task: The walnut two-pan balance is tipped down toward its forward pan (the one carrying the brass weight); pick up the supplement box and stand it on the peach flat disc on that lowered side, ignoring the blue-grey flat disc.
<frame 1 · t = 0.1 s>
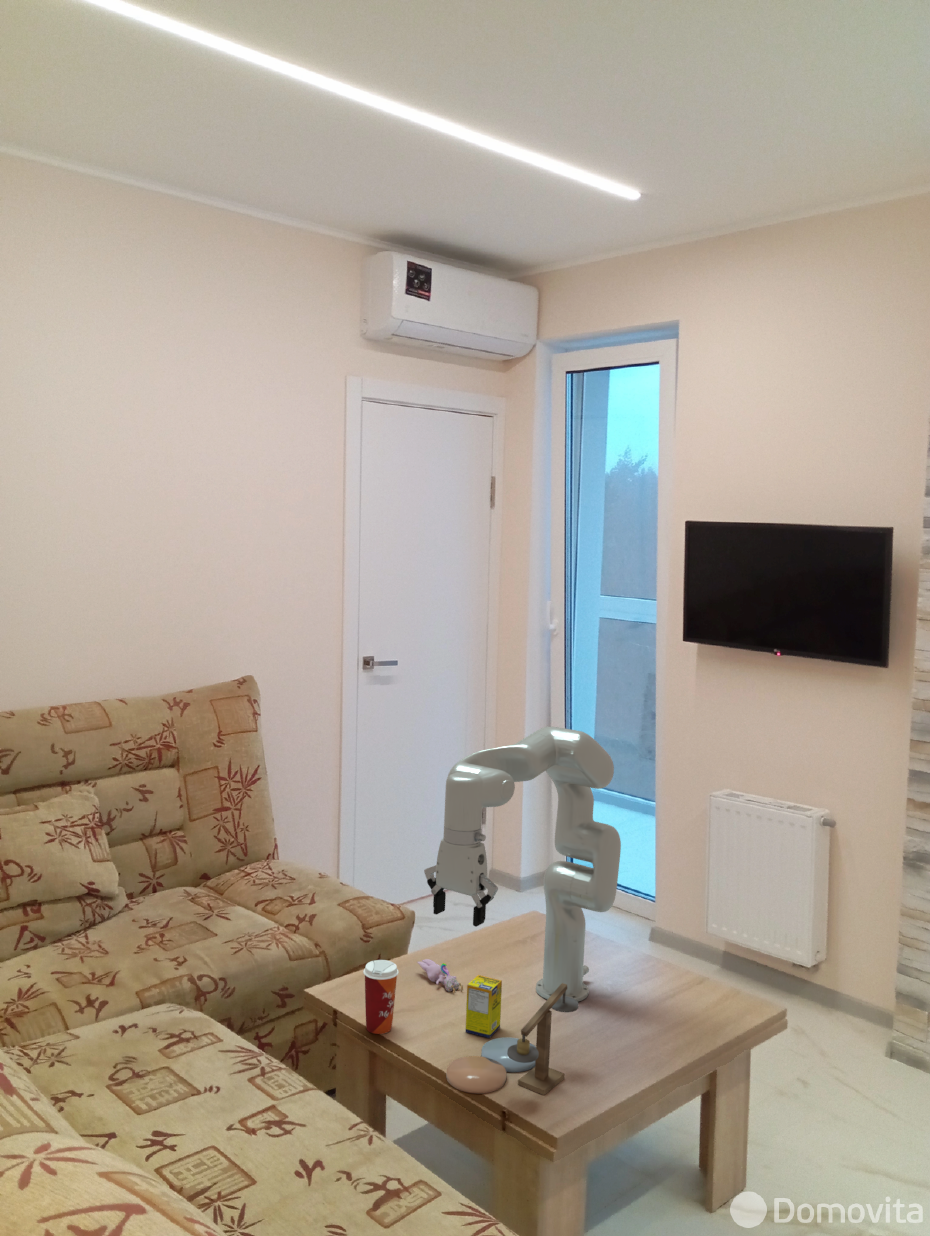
hand: (458, 918, 202), 31 cm above the table, fingers open, 9 cm apart
supplement box: (482, 1031, 220), on the table
peach flat disc: (476, 1077, 201), on the table
balance: (541, 1081, 200), on the table
lilac plush figure: (438, 983, 243), on the table
paper cup: (378, 1028, 219), on the table
blue-grey flat disc: (510, 1057, 209), on the table
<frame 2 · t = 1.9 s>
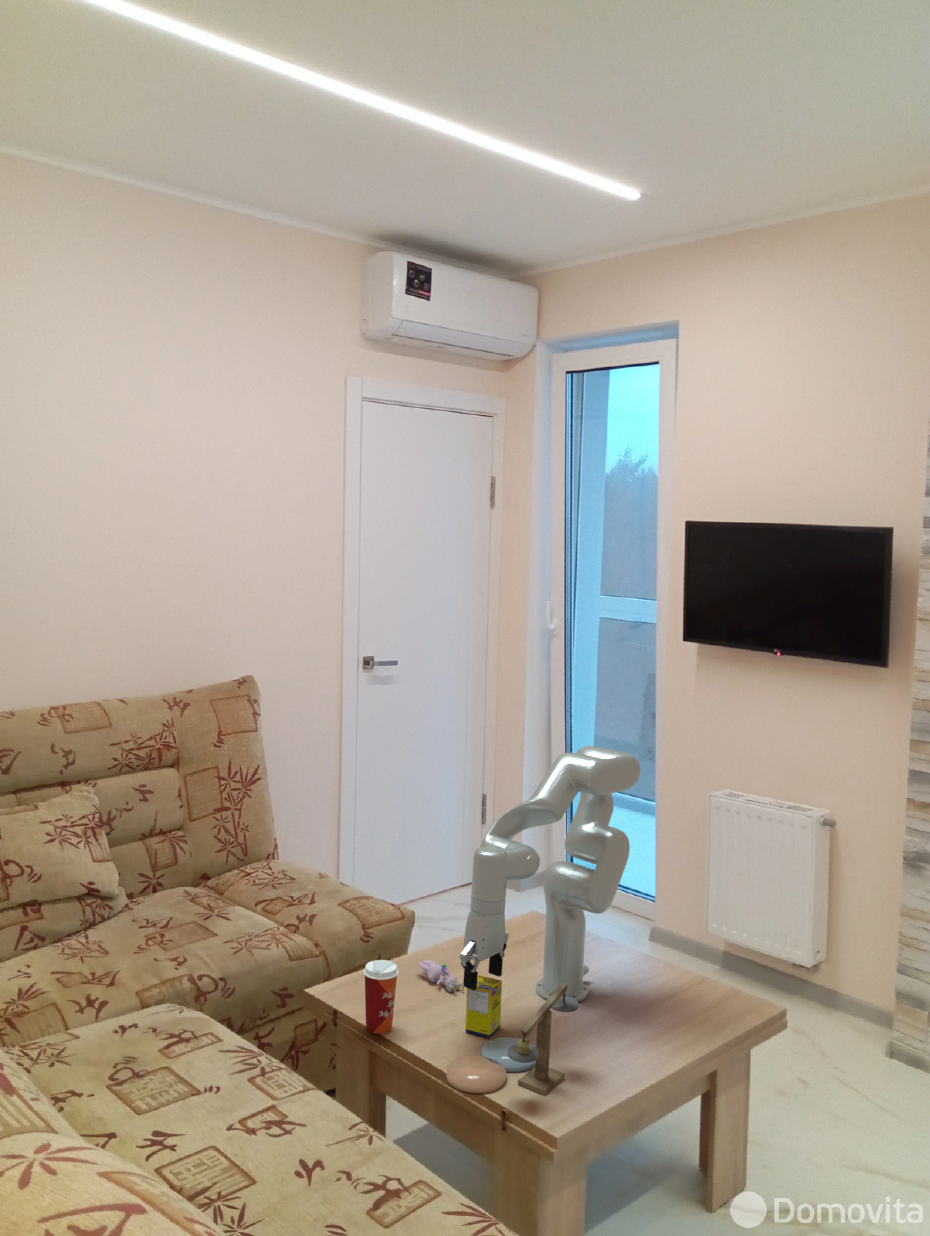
hand: (482, 981, 219), 11 cm above the table, fingers open, 9 cm apart
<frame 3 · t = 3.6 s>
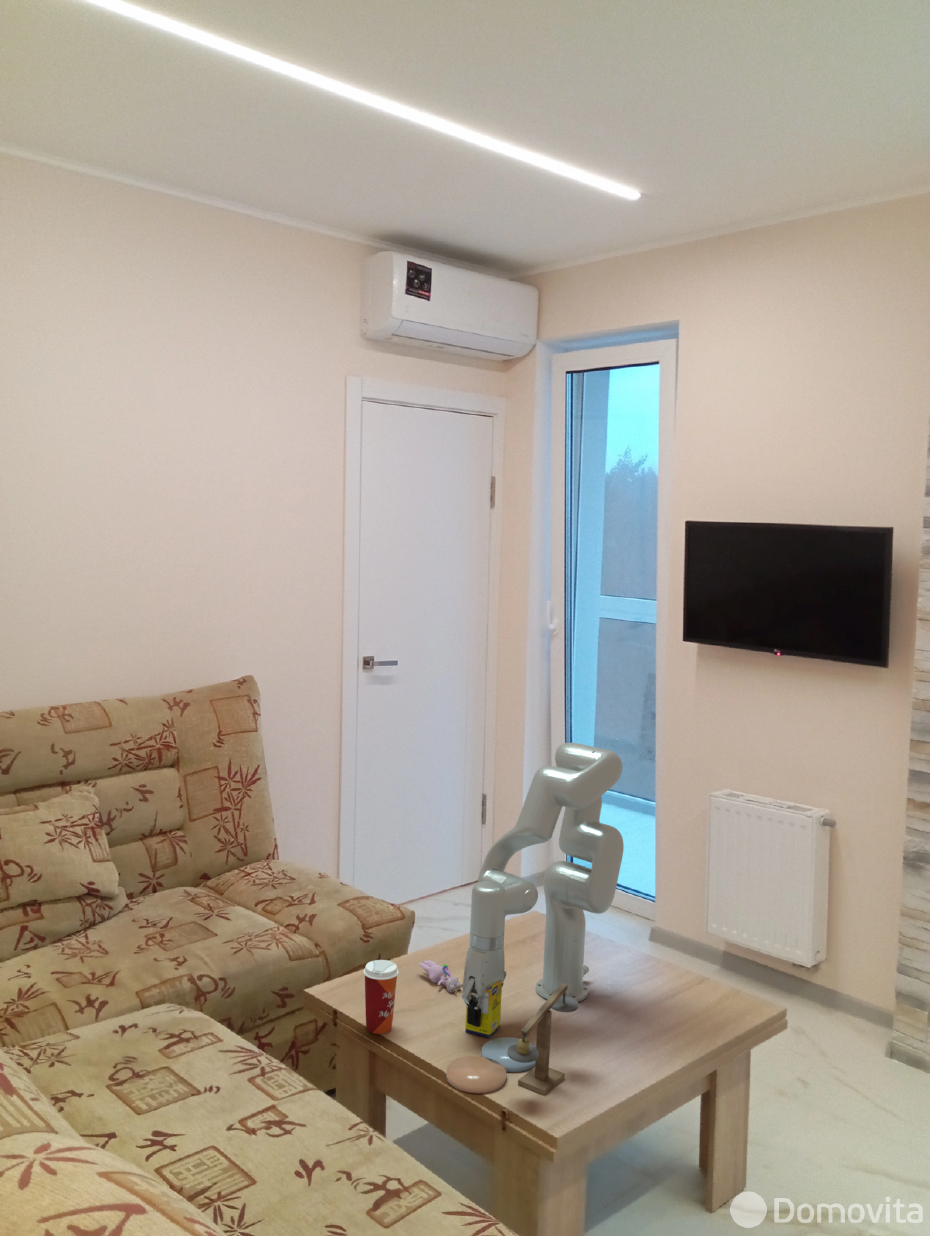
hand: (483, 1018, 220), 3 cm above the table, fingers closed on supplement box, 6 cm apart
supplement box: (482, 1030, 221), on the table, touching gripper
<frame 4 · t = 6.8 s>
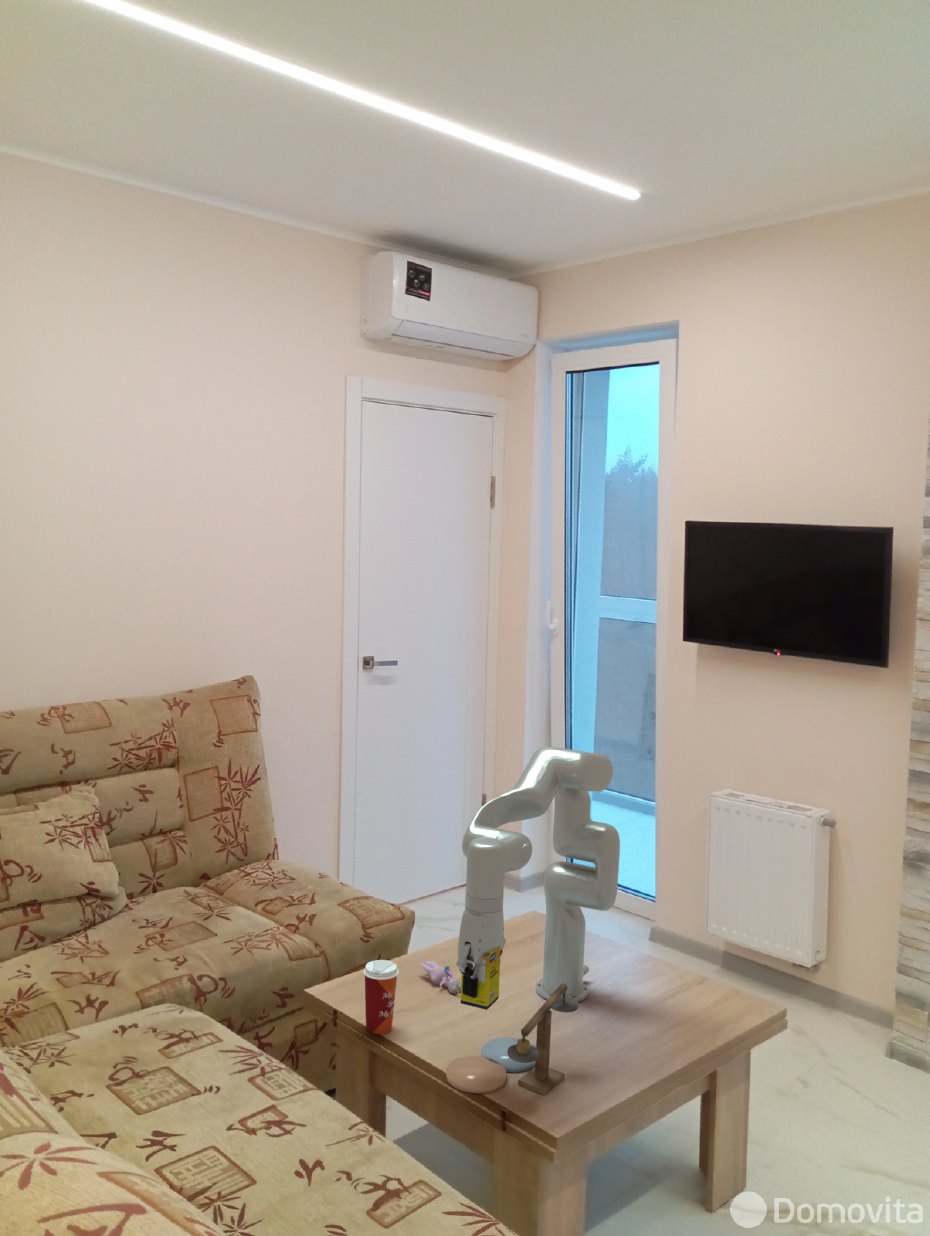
hand: (480, 988, 200), 18 cm above the table, fingers closed on supplement box, 6 cm apart
supplement box: (479, 1002, 200), point 15 cm above the table, touching gripper
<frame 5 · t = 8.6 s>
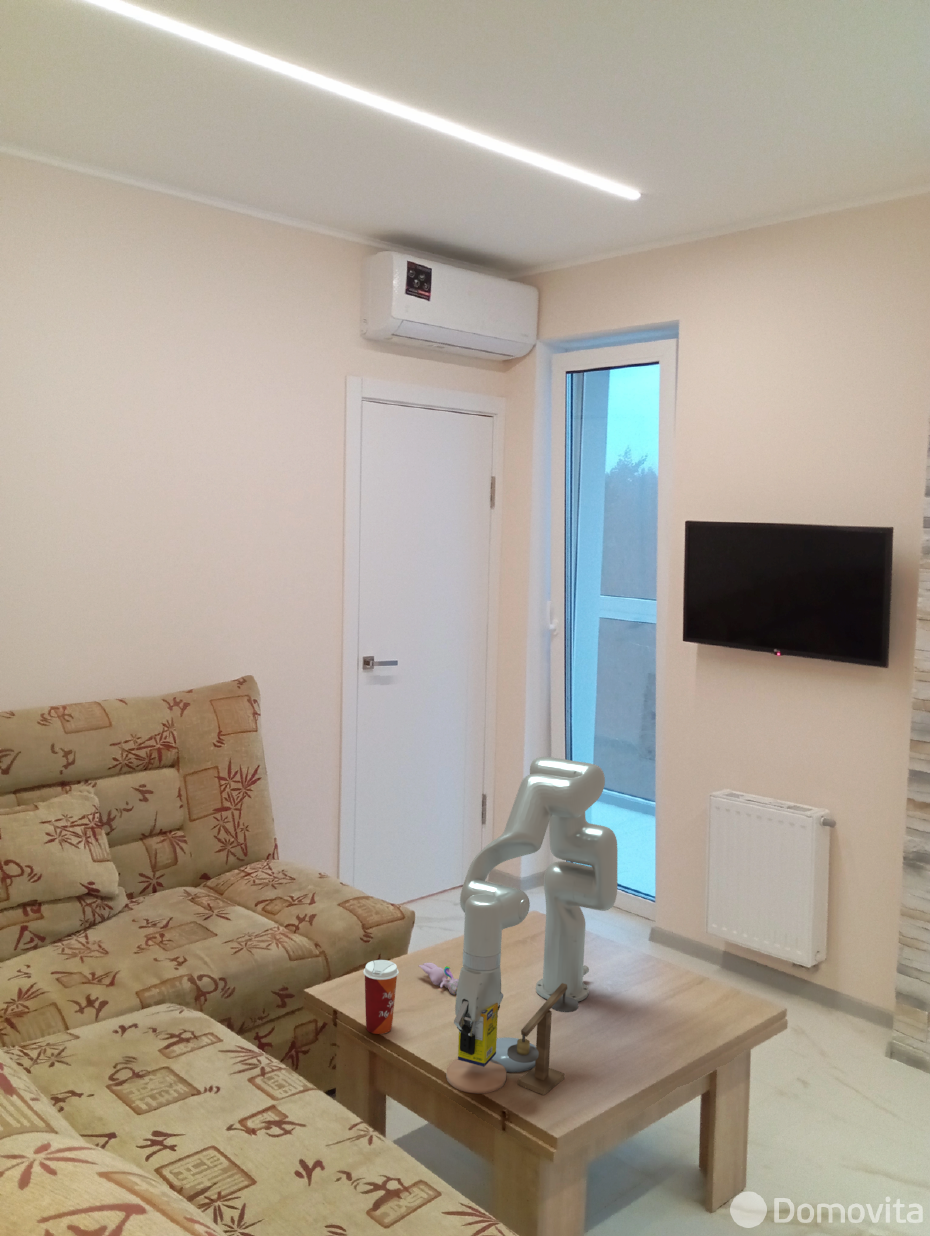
hand: (477, 1044, 200), 7 cm above the table, fingers closed on supplement box, 6 cm apart
supplement box: (476, 1058, 201), point 4 cm above the table, touching gripper
when the fingers open (5 cm above the table, at t = 9.9 s): supplement box drops 1 cm, resting on peach flat disc.
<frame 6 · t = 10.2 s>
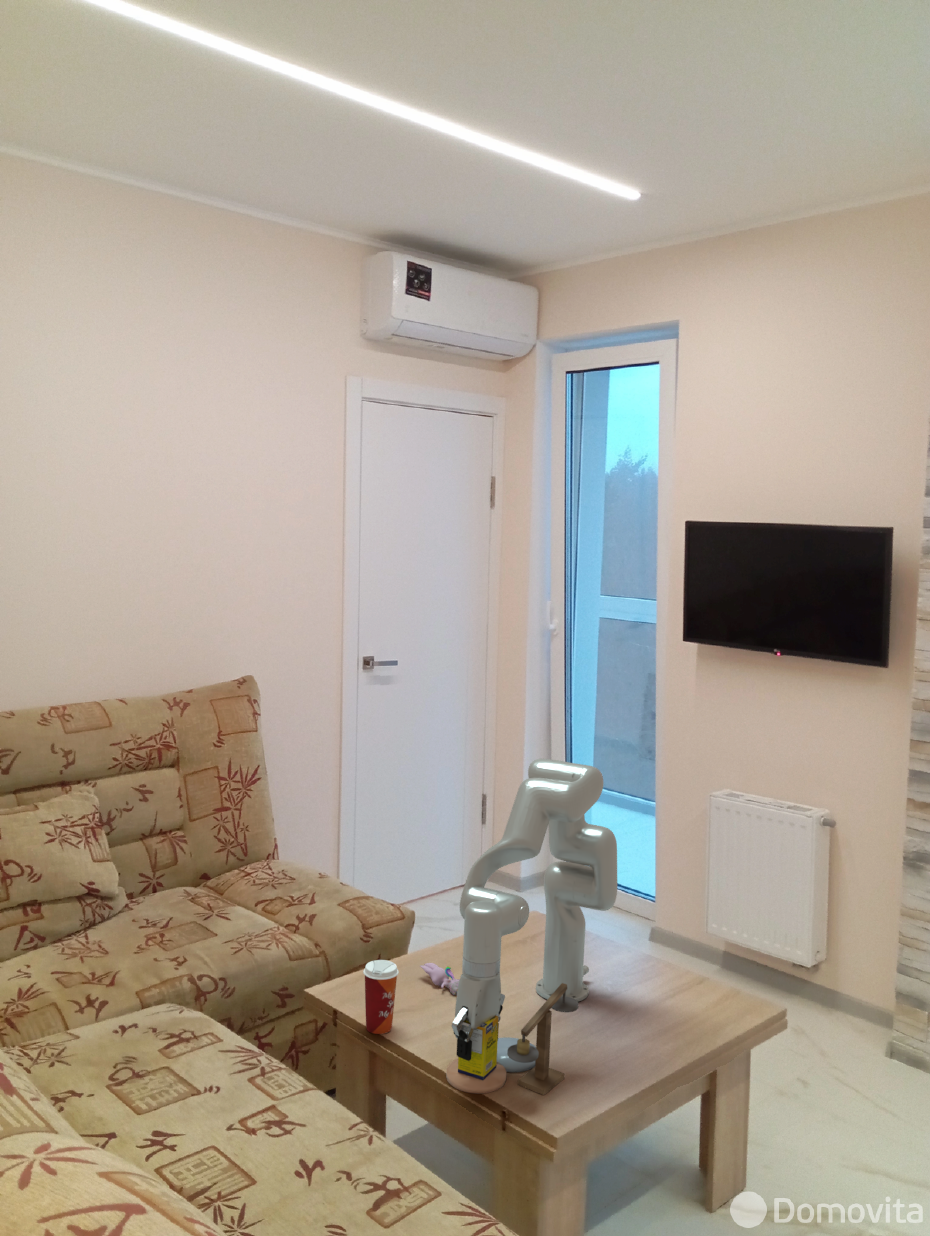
hand: (477, 1048, 200), 6 cm above the table, fingers open, 9 cm apart
supplement box: (477, 1071, 201), point 1 cm above the table, touching peach flat disc
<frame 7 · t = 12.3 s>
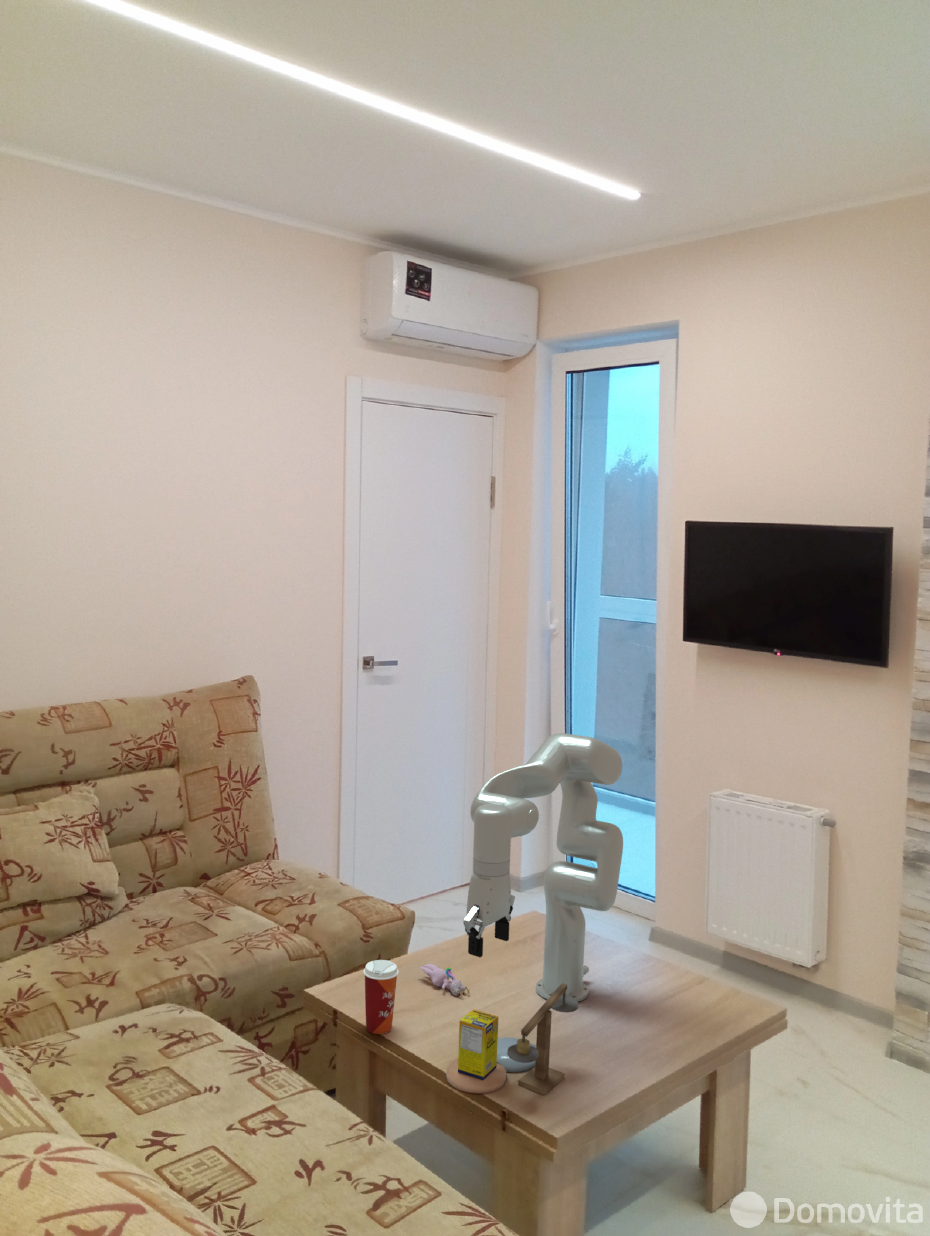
hand: (488, 947, 205), 24 cm above the table, fingers open, 9 cm apart
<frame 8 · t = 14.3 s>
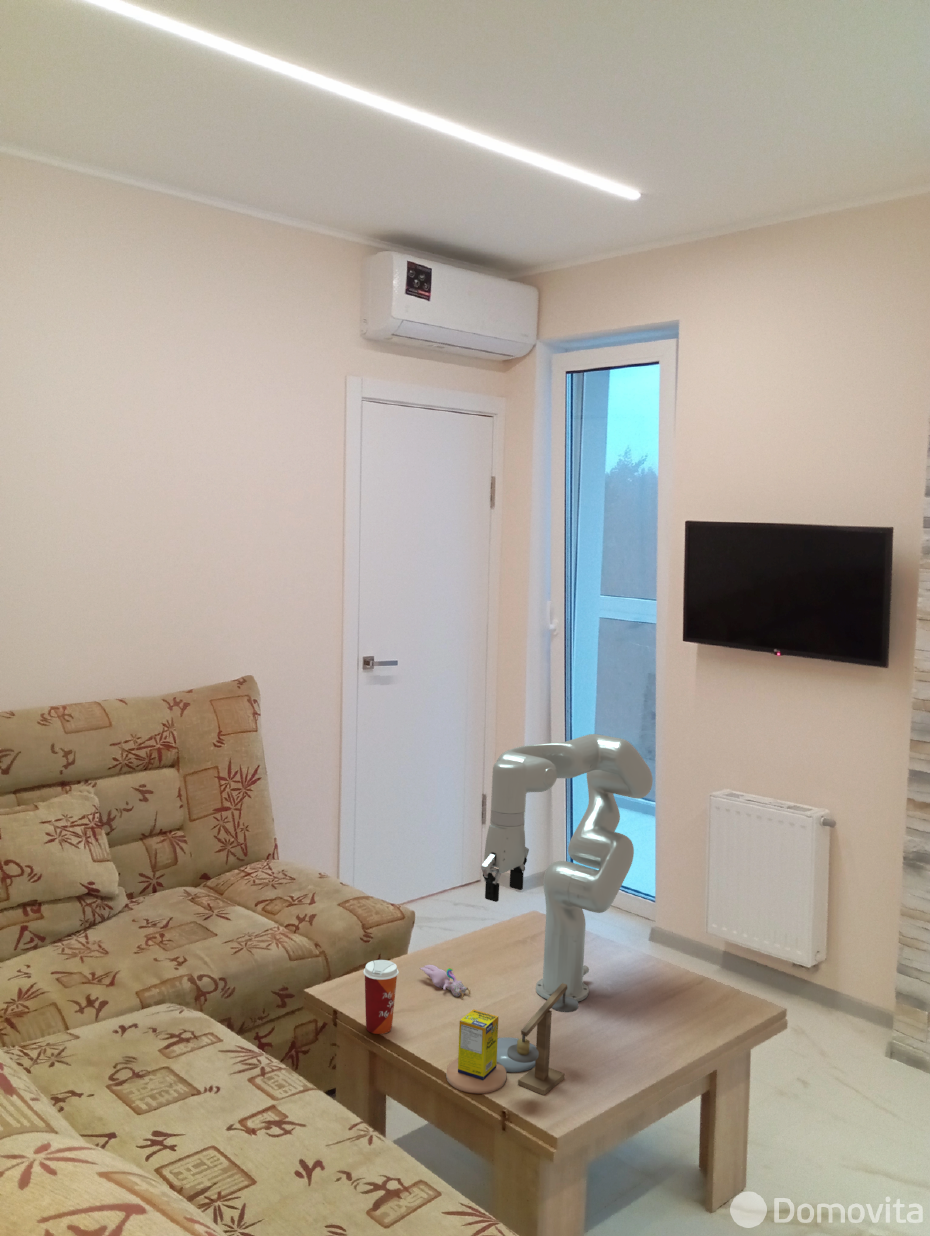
hand: (504, 894, 220), 30 cm above the table, fingers open, 9 cm apart
at the end: supplement box inside the target area on the peach flat disc (0.4 cm from its centre), point 1.0 cm above the peach flat disc's base; supplement box tilted 0°; the gripper is holding nothing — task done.
